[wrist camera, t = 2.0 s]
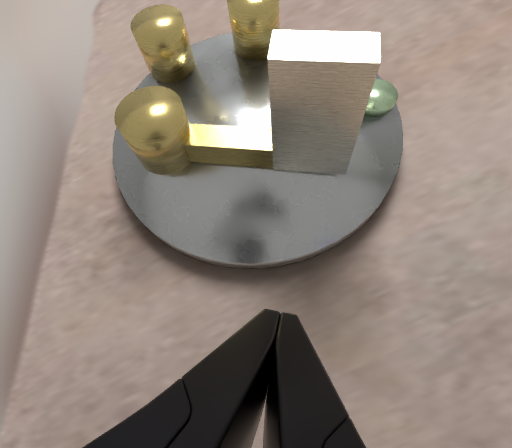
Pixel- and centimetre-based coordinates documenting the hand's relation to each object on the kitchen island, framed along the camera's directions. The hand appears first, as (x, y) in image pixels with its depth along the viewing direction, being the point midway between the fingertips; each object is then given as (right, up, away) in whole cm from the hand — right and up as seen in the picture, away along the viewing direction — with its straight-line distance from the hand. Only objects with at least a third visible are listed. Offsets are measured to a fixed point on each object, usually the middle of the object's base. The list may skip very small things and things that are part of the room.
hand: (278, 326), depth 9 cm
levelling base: (-1, +10, +18) cm, 21 cm away
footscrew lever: (-2, +8, +16) cm, 17 cm away
